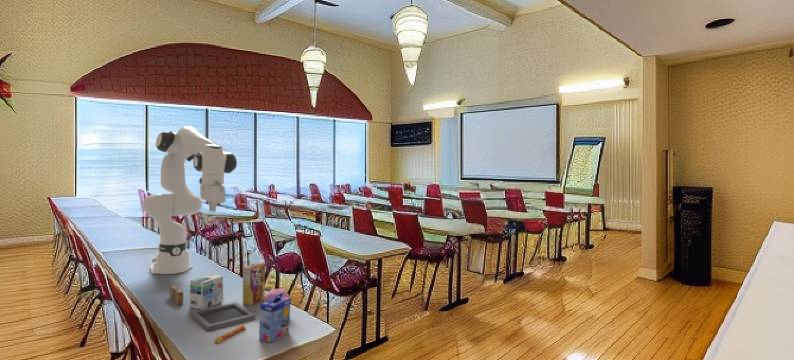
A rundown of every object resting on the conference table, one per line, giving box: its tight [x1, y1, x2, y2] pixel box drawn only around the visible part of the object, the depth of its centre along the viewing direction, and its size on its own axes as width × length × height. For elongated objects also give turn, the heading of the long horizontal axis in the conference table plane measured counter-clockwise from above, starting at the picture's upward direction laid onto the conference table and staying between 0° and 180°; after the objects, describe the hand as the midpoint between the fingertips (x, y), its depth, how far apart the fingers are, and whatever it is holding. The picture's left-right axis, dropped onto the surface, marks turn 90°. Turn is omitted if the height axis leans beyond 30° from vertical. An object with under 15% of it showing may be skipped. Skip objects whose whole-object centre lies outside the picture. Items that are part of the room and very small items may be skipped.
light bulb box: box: [189, 273, 224, 310], centre depth 163 cm, size 11×7×11 cm, turn 160°
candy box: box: [242, 262, 266, 306], centre depth 168 cm, size 9×4×15 cm, turn 158°
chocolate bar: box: [213, 323, 247, 345], centre depth 136 cm, size 3×12×2 cm, turn 158°
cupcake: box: [263, 288, 290, 302], centre depth 155 cm, size 9×9×10 cm
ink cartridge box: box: [258, 293, 292, 344], centre depth 137 cm, size 10×6×14 cm, turn 159°
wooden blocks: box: [169, 284, 224, 306], centre depth 171 cm, size 12×17×5 cm
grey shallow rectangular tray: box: [190, 301, 257, 332], centre depth 151 cm, size 17×17×2 cm
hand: (212, 211), depth 184 cm, fingers closed
